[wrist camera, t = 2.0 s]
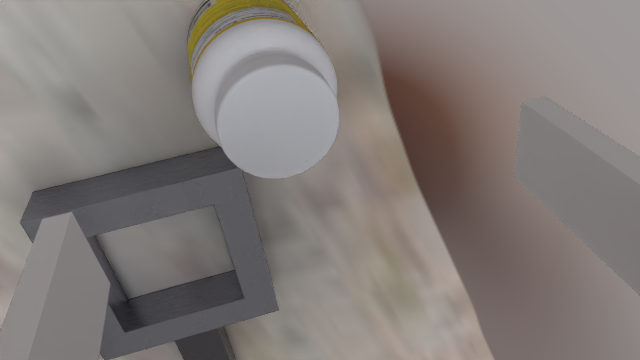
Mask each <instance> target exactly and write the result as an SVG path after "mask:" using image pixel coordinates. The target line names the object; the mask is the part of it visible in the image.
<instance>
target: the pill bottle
mask: <svg viewBox="0 0 640 360" xmlns="http://www.w3.org/2000/svg"><path fill="white" fill-rule="evenodd" d="M187 46H188V57H189V67H190V77H191V89H192V99H193V105H194V109H195V112H196V115H197V118H198V120H199V122H200V124H201V126H202V127H203V129H204V130H205V131H206V133H207V134H208V135H209V136H210V137H211V138H212V140H213V141H215V142H216V143H217V144H218V145H219V146H221V147H222V149H223V151H224V153H225V154H226V155H227V157H228V158H229V159H230V160H231V161H232V162H233V163H234V164H235V165H236V166H237V167H239V168H240V169H242V170H243V171H245V172H247V173H249V174H251V175H254V176H257V177H262V178H270V179H277V178H286V177H291V176H294V175H297V174H300V173H302V172H304V171H306V170H308V169H310V168H311V167H313V166H314V165H315V164H317V163H318V162H319V161H320V160H321V159H322V158H323V157H324V156H325V155H326V153H327V152H328V151H329V149H330V148H331V146H332V144H333V142H334V140H335V138H336V135H337V132H338V128H339V107H338V102H337V99H336V98H337V79H336V74H335V70H334V66H333V64H332V61H331V59H330V57H329V55H328V54H327V52H326V50H325V49H324V47H323V46H322V44H321V43H320V42H319V41H318V40H317V39H316V37H315V36H314V35H313V34H312V33H311V31H310V30H309V29H308V28H307V27H306V26H305V24H304V23H303V22H302V21H301V20H300V19H299V17H298V16H297V15H296V14H295V13H294V12H293V11H292V10H291V8H290V7H289V6H288V5H287V4H286V3H285V2H284V1H283V0H205V1H204V2H203V3H202V4H201V5H200V6H199V8H198V9H197V11H196V12H195V14H194V16H193V18H192V20H191V23H190V26H189V31H188V40H187Z"/></svg>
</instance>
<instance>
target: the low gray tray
mask: <svg viewBox="0 0 640 360" xmlns="http://www.w3.org/2000/svg"><path fill="white" fill-rule="evenodd" d="M210 205H215V208H216V212H217V215H218V218H219V221H220V224H221V227H222V230H223V233H224V236H225V239H226V242H227V246H228V249H229V252H230V255H231V258H232V261H233V264H234V267H235V270H234V271H230V272H227V273H223V274H220V275H216V276H212V277H209V278H205V279H201V280H198V281H194V282H191V283H187V284H183V285H180V286H176V287H173V288H169V289H165V290H162V291H158V292H154V293H151V294H147V295H144V296H140V297H136V298H133V299H129V300H128V299H127V297H126V295H125V294H124V292H123V290H122V288H121V286H120V284H119V282H118V280H117V278H116V276H115V274H114V272H113V270H112V268H111V266H110V264H109V263H108V261H107V259H106V257H105V255H104V253H103V251H102V249H101V247H100V245H99V243H98V241H97V239H96V237H95V235H98V234H102V233H106V232H110V231H113V230H117V229H121V228H125V227H129V226H133V225H137V224H141V223H144V222H148V221H152V220H156V219H160V218H164V217H168V216H172V215H175V214H179V213H183V212H187V211H191V210H195V209H199V208H203V207H206V206H210ZM69 212H72V213H73V215H74V217H75V219H76V221H77V222H78V224H79V226H80V228H81V230H82V232H83V234H84V236H85V237H86V239H87V241H88V243H89V245H90V247H91V249H92V251H93V252H94V254H95V256H96V258H97V260H98V262H99V264H100V265H101V267H102V269H103V271H104V273H105V275H106V277H107V279H108V280H109V282H110V289H109V295H108V302H107V308H106V315H105V321H104V327H103V334H102V340H101V347H100V354H101V355H102V357H103V359H104V360H109V359H113V358H116V357H120V356H123V355H127V354H130V353H133V352H137V351H140V350H144V349H147V348H151V347H154V346H158V345H161V344H164V343H168V342H171V341H175V342H176V344H177V346H178V348H179V350H180V352H181V355H182V357H183V359H184V360H236V358H235V356H234V353H233V350H232V348H231V345H230V342H229V340H228V337H227V334H226V332H225V329H224V326H226V325H230V324H233V323H237V322H240V321H244V320H247V319H251V318H254V317H258V316H261V315H264V314H268V313H271V312H275V311H278V310H279V308H278V304H277V300H276V295H275V291H274V287H273V283H272V279H271V275H270V272H269V268H268V264H267V260H266V257H265V253H264V249H263V246H262V242H261V238H260V235H259V231H258V227H257V224H256V220H255V216H254V213H253V209H252V205H251V202H250V198H249V194H248V190H247V187H246V183H245V179H244V176H243V172H242V169H240V168H239V167H237V166H236V165H235V164H234V163H233V162H232V161H231V160H230V159H229V158H228V157H227V155H226V154H225V153H224V151H223V149H222V147H217V148H213V149H209V150H204V151H200V152H196V153H192V154H188V155H184V156H180V157H176V158H172V159H167V160H163V161H159V162H155V163H151V164H147V165H143V166H139V167H135V168H130V169H126V170H122V171H118V172H114V173H110V174H106V175H102V176H98V177H94V178H89V179H85V180H81V181H77V182H73V183H69V184H65V185H61V186H57V187H52V188H48V189H44V190H40V191H36V192H33V193H32V195H31V198H30V200H29V202H28V205H27V207H26V209H25V212H24V214H23V216H22V219H21V221H20V224H21V225H22V227H23V228H24V230H25V232H26V233H27V235H28V237H29V238H30V240H31V241H32V243H33V242H34V240H35V237H36V234H37V232H38V229H39V226H40V224H41V221H42V219H44V218H48V217H52V216H57V215H61V214H65V213H69Z"/></svg>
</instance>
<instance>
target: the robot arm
mask: <svg viewBox="0 0 640 360" xmlns="http://www.w3.org/2000/svg"><path fill="white" fill-rule="evenodd" d="M514 177H515V178H516V179H517V180H518V181H519V182H520V183H521V184H522V185H523V186H524V187H525V188H526V189H527V190H528V191H529V192H530V193H531V194H533V195H534V196H535V197H536V198H537V199H538V200H539V201H540V202H541V203H542V204H543V205H544V206H545V207H546V208H547V209H548V210H550V211H551V212H552V213H553V214H554V215H555V216H556V217H557V218H558V219H559V220H560V221H561V222H562V223H563V224H564V225H565V226H567V227H568V228H569V229H570V230H571V231H572V232H573V233H574V234H575V235H576V236H577V237H578V238H579V239H580V240H581V241H582V242H583V243H585V244H586V245H587V246H588V247H589V248H590V249H591V250H592V251H593V252H594V253H595V254H596V255H597V256H598V257H599V258H600V259H601V260H602V261H604V262H605V263H606V264H607V265H608V266H609V267H610V268H611V269H612V270H613V271H614V272H615V273H616V274H617V275H618V276H619V277H621V278H622V279H623V280H624V281H625V282H626V283H627V284H628V285H629V286H630V287H631V288H632V289H633V290H634V291H635V292H636V293H638V294H639V295H640V156H638V155H637V154H635V153H634V152H632V151H630V150H629V149H627V148H626V147H624V146H623V145H621V144H619V143H618V142H616V141H615V140H613V139H612V138H610V137H609V136H607V135H605V134H604V133H602V132H601V131H599V130H598V129H596V128H594V127H593V126H591V125H590V124H588V123H587V122H585V121H584V120H582V119H581V118H579V117H578V116H576V115H574V114H573V113H571V112H570V111H568V110H567V109H565V108H564V107H562V106H560V105H559V104H557V103H556V102H554V101H552V100H551V99H550V98H548V97H546V96H541V97H537V98H533V99H529V100H525V101H522V102H521V112H520V122H519V131H518V141H517V151H516V161H515V172H514ZM109 289H110V282H109V280H108V279H107V277H106V275H105V273H104V271H103V269H102V267H101V265H100V264H99V262H98V260H97V258H96V256H95V254H94V252H93V251H92V249H91V247H90V245H89V243H88V241H87V239H86V237H85V236H84V234H83V232H82V230H81V228H80V226H79V224H78V222H77V221H76V219H75V217H74V215H73V213H72V212H69V213H65V214H61V215H57V216H52V217H48V218H44V219H42V221H41V224H40V226H39V229H38V232H37V234H36V237H35V240H34V242H33V245H32V248H31V250H30V253H29V256H28V258H27V261H26V264H25V267H24V269H23V272H22V275H21V277H20V280H19V283H18V285H17V288H16V291H15V293H14V296H13V299H12V301H11V304H10V307H9V309H8V312H7V315H6V317H5V320H4V323H3V325H2V328H1V331H0V360H98V359H99V353H100V347H101V340H102V334H103V327H104V321H105V315H106V308H107V302H108V295H109Z"/></svg>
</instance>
